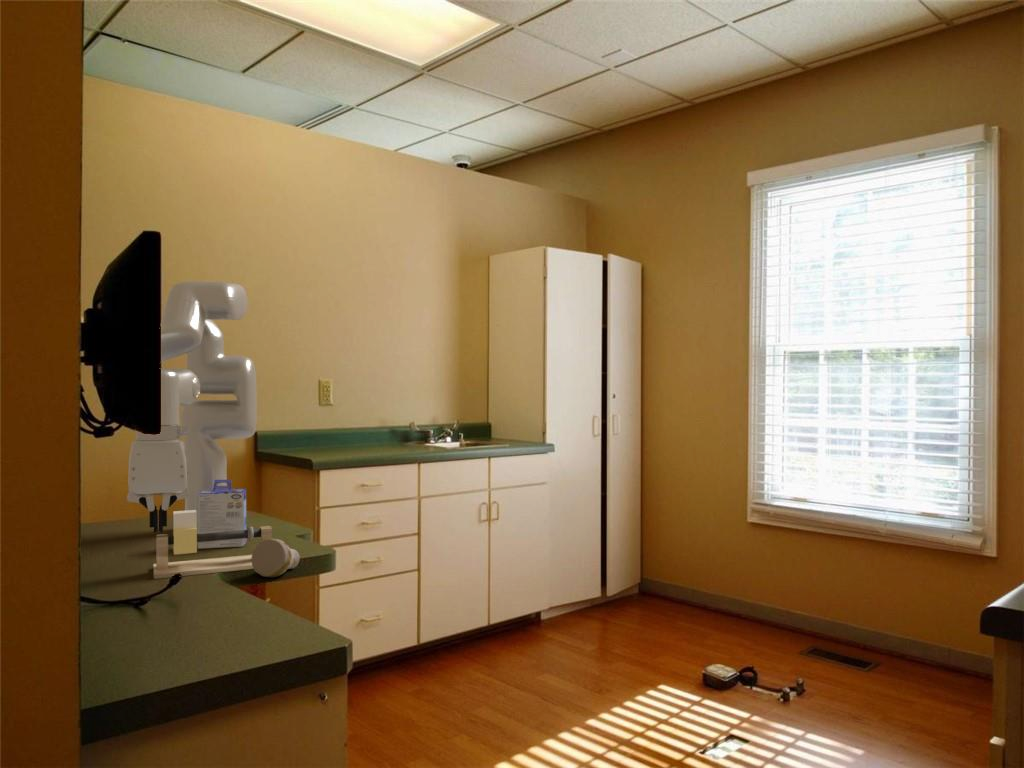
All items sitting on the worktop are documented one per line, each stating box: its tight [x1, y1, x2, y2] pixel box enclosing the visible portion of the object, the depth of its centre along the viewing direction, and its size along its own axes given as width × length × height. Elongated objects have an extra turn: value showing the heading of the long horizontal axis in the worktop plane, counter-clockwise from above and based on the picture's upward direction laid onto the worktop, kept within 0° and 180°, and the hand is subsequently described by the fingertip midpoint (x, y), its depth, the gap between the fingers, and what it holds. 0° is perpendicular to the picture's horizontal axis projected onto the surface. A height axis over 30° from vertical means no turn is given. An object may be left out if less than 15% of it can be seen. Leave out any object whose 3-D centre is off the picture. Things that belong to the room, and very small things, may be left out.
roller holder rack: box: [152, 525, 273, 580], centre depth 150 cm, size 9×22×7 cm, turn 115°
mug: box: [251, 538, 300, 578], centre depth 146 cm, size 8×10×10 cm
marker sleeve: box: [172, 510, 198, 556], centre depth 148 cm, size 5×4×8 cm
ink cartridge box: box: [197, 479, 247, 550], centre depth 170 cm, size 10×6×14 cm, turn 105°
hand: (158, 530), depth 146 cm, fingers closed
